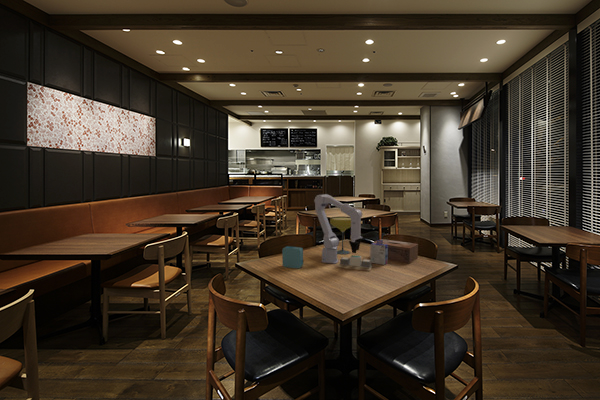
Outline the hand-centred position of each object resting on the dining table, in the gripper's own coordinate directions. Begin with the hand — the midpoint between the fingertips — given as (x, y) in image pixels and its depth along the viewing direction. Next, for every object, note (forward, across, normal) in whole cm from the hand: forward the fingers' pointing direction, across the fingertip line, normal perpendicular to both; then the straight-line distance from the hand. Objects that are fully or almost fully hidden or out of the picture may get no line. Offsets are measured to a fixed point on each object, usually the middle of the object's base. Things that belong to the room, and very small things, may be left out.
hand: (355, 251), depth 187 cm
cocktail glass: (+10, +29, +16) cm, 35 cm away
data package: (+10, -15, +35) cm, 40 cm away
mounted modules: (+8, -1, 0) cm, 8 cm away
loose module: (+8, -2, -1) cm, 8 cm away
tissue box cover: (+10, +30, -20) cm, 37 cm away
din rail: (+9, -2, 0) cm, 10 cm away
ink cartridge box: (+10, +13, -12) cm, 20 cm away
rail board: (+9, -2, 0) cm, 10 cm away
